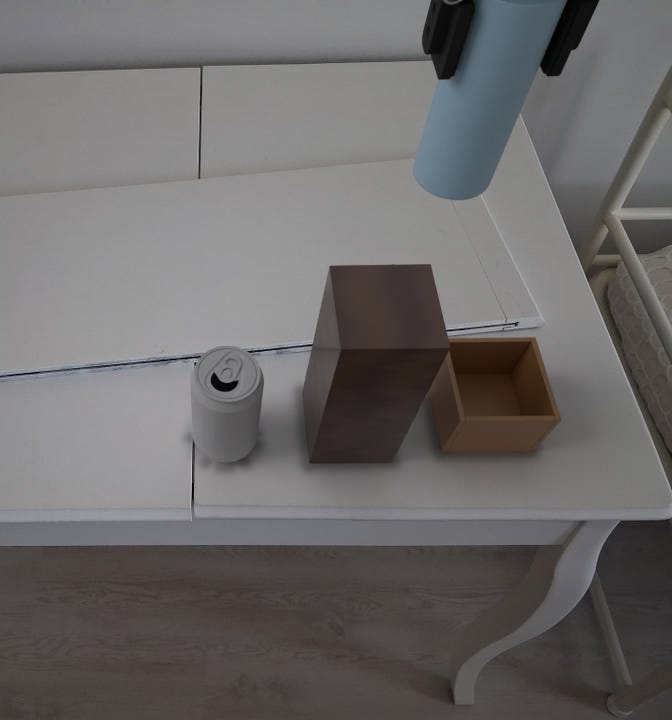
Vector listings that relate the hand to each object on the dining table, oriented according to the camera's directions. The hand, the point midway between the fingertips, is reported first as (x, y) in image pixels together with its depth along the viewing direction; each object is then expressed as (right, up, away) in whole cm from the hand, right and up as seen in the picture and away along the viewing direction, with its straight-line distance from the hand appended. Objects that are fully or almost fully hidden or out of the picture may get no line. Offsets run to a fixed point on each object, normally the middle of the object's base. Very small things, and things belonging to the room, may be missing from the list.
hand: (492, 58), depth 37 cm
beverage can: (-12, -23, +34) cm, 43 cm away
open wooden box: (+13, -21, +35) cm, 43 cm away
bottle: (0, -4, +6) cm, 8 cm away
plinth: (0, -22, +35) cm, 41 cm away
